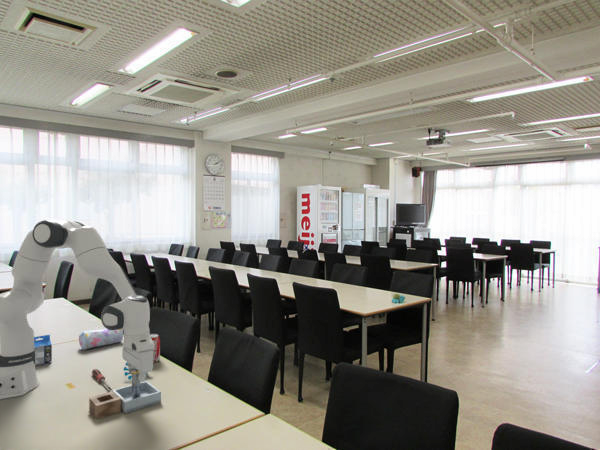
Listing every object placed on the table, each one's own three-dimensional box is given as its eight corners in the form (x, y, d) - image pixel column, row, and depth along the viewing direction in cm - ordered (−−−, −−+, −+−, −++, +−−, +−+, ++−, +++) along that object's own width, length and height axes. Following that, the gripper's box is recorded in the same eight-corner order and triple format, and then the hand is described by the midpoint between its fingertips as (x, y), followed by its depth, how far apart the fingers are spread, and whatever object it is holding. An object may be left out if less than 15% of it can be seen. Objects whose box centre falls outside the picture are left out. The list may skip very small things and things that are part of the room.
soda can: (163, 359, 195) (163, 334, 195) (153, 364, 189) (153, 338, 188) (150, 357, 198) (150, 332, 197) (140, 362, 191) (140, 336, 191)
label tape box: (29, 367, 183) (29, 339, 182) (27, 364, 186) (27, 337, 185) (51, 362, 188) (51, 336, 188) (50, 360, 192) (50, 334, 191)
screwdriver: (115, 393, 159) (115, 385, 159) (107, 395, 157) (107, 387, 157) (97, 373, 177) (97, 366, 177) (90, 375, 176) (90, 368, 175)
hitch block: (96, 419, 138) (96, 405, 138) (89, 410, 144) (89, 397, 144) (120, 411, 144) (120, 398, 143) (113, 403, 149) (113, 391, 149)
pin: (133, 401, 149) (133, 372, 149) (130, 398, 151) (130, 369, 151) (142, 399, 151) (141, 369, 151) (138, 396, 153) (138, 367, 153)
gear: (122, 379, 167) (125, 356, 174) (121, 385, 171) (124, 362, 178) (150, 379, 172) (152, 356, 178) (148, 385, 175) (150, 363, 182)
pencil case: (117, 339, 225) (117, 322, 224) (125, 342, 219) (125, 325, 219) (77, 348, 209) (77, 330, 208) (84, 352, 203) (84, 333, 203)
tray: (124, 413, 142) (125, 402, 142) (112, 400, 152) (112, 390, 152) (161, 402, 151) (161, 391, 151) (146, 390, 160) (146, 380, 160)
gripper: (118, 335, 156) (117, 371, 157) (139, 348, 141) (138, 388, 142) (134, 332, 160) (134, 367, 161) (156, 345, 145) (156, 383, 146)
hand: (136, 377), depth 151 cm, fingers open, 8 cm apart
